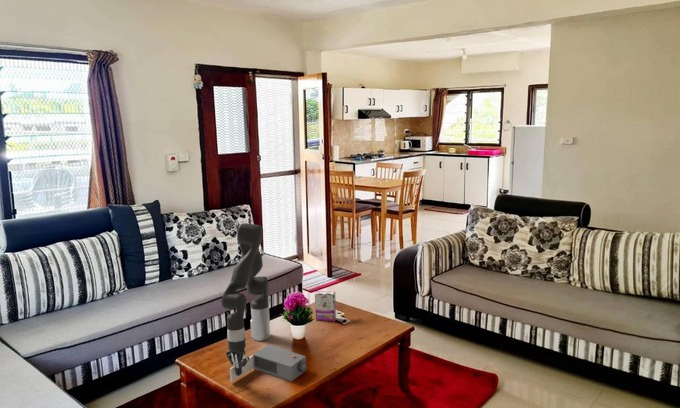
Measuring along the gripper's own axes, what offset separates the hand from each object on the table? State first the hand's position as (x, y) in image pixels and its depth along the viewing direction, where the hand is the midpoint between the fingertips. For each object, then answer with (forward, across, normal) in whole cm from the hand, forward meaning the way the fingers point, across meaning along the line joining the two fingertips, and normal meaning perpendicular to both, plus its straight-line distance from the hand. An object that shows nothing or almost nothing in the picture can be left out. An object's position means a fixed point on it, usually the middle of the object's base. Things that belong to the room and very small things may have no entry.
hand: (238, 374), depth 211 cm
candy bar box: (+3, -9, +75) cm, 75 cm away
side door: (+3, -3, +5) cm, 7 cm away
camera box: (+4, +7, +19) cm, 20 cm away
